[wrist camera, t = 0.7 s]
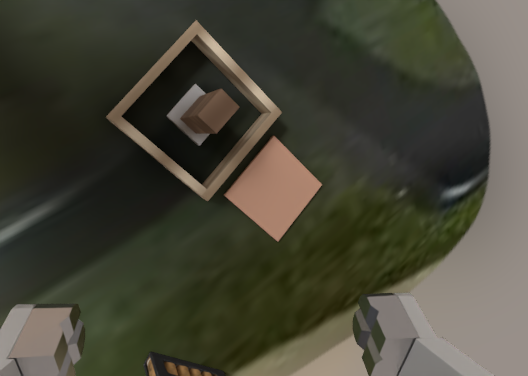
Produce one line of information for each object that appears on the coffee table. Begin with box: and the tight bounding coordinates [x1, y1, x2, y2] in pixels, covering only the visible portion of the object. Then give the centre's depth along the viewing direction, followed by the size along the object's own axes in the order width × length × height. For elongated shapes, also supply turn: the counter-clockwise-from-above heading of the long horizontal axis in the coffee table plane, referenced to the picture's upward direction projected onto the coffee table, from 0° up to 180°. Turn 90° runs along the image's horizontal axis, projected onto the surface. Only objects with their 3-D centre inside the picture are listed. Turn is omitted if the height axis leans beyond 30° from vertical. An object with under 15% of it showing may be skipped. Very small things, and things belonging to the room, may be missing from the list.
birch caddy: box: [106, 21, 282, 201], centre depth 44 cm, size 14×14×3 cm
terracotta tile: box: [224, 136, 322, 242], centre depth 50 cm, size 10×10×1 cm
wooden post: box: [166, 84, 239, 146], centre depth 41 cm, size 5×5×10 cm
